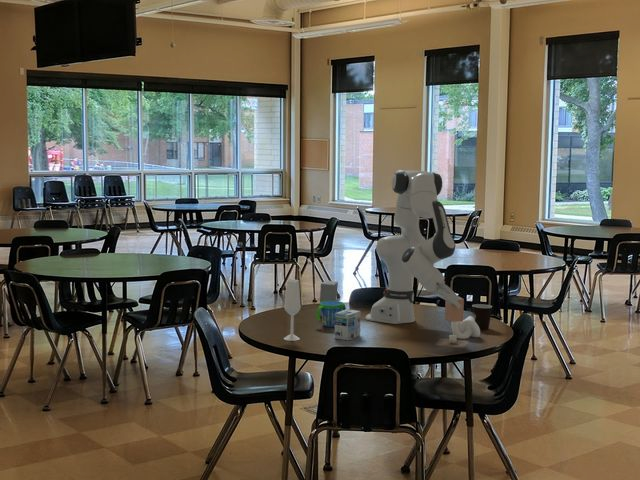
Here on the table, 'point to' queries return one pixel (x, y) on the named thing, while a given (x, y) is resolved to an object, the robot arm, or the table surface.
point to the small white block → (453, 339)
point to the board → (446, 343)
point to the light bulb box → (347, 324)
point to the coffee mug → (482, 315)
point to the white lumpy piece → (466, 328)
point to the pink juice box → (454, 311)
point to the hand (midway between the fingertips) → (455, 305)
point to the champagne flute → (292, 304)
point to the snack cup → (329, 312)
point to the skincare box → (328, 291)
